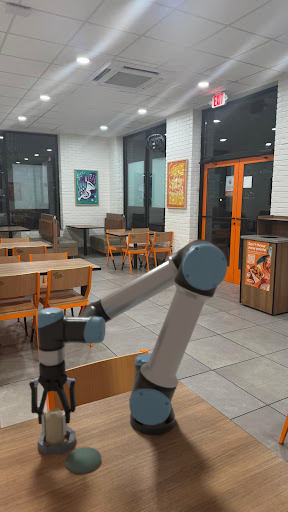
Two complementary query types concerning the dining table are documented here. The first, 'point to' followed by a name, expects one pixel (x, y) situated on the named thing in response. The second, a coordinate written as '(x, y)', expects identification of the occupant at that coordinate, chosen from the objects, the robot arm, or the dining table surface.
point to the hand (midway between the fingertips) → (54, 432)
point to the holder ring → (57, 448)
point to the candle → (54, 427)
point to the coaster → (83, 460)
